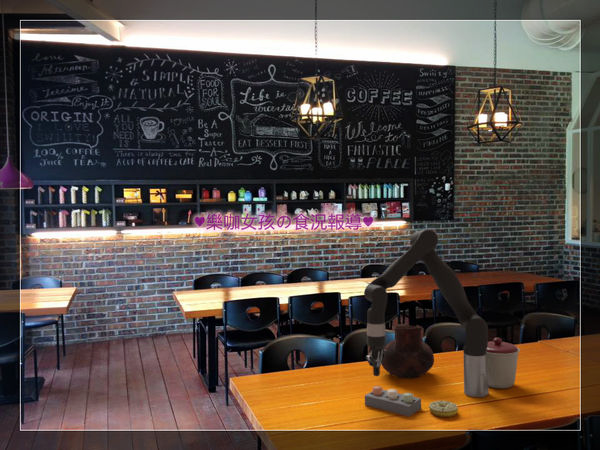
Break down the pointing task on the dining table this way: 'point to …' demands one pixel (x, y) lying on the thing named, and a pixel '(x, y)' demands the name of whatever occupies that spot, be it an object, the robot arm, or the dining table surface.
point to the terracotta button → (377, 390)
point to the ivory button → (392, 394)
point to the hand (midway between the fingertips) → (376, 375)
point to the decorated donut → (443, 408)
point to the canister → (501, 363)
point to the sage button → (408, 398)
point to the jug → (408, 353)
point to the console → (393, 403)
